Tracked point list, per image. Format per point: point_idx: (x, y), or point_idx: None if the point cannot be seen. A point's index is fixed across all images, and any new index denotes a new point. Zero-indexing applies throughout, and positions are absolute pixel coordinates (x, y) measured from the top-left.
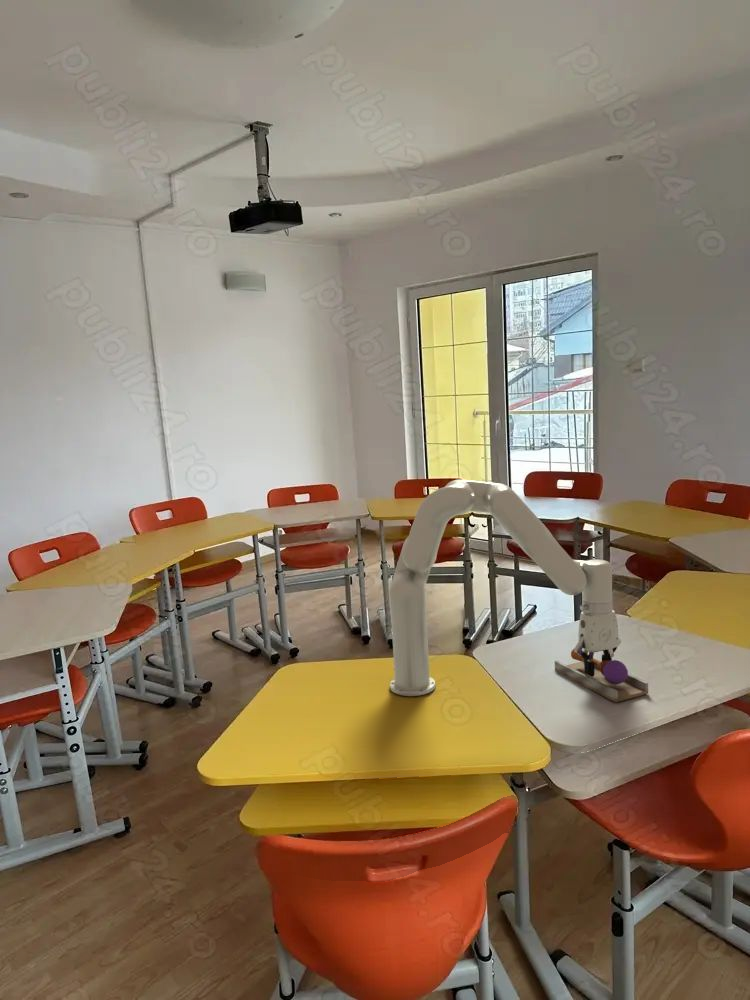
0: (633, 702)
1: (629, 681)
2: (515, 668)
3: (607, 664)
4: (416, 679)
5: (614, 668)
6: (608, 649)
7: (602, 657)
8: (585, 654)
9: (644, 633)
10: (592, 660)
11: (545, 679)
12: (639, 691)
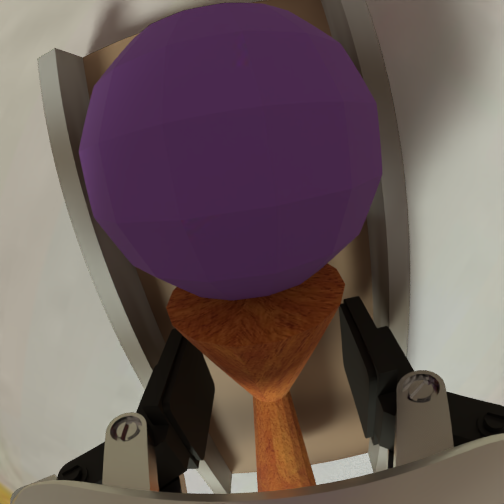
0: (210, 3)
1: None
2: None
3: (362, 172)
4: None
5: (311, 28)
6: (151, 489)
7: (202, 445)
8: (495, 427)
9: (13, 476)
10: (292, 437)
11: (460, 381)
12: (119, 53)
